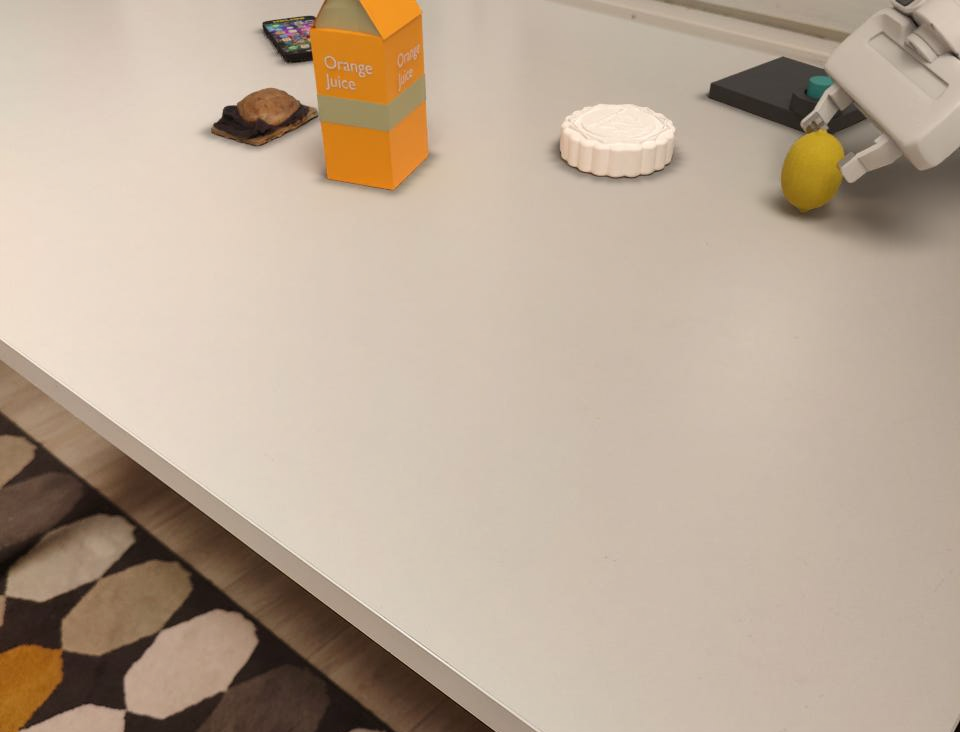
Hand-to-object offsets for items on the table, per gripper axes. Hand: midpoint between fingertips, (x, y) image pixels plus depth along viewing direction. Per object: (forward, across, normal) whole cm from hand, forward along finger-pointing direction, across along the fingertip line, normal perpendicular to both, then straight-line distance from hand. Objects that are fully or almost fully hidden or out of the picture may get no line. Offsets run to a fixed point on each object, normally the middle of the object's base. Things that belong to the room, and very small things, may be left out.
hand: (823, 153), depth 87 cm
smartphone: (+41, +55, +32) cm, 75 cm away
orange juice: (+34, +14, +25) cm, 44 cm away
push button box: (-2, +27, -10) cm, 29 cm away
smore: (+43, +27, +34) cm, 61 cm away
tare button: (-4, +20, -7) cm, 22 cm away
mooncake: (+16, +15, +7) cm, 23 cm away
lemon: (+5, 0, -4) cm, 6 cm away
